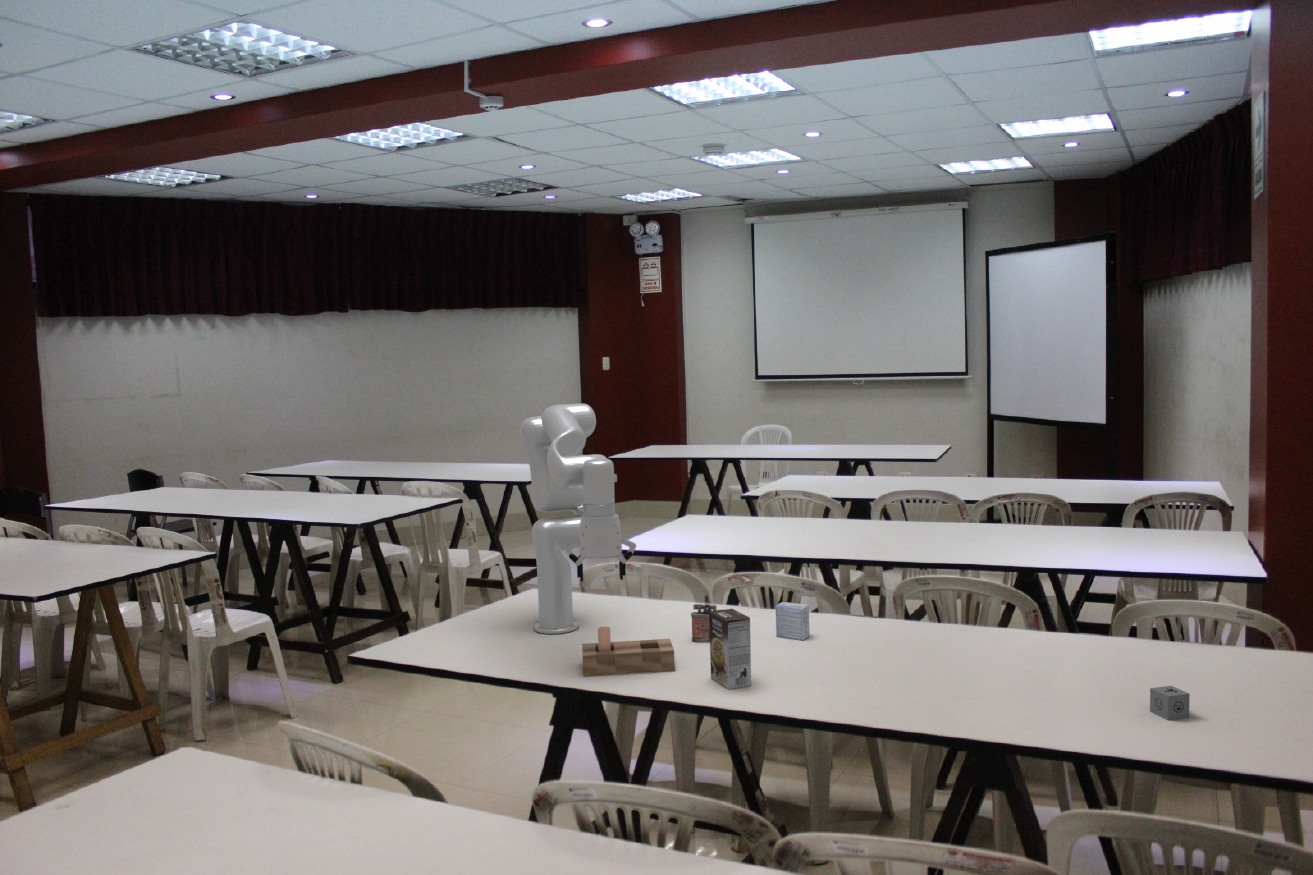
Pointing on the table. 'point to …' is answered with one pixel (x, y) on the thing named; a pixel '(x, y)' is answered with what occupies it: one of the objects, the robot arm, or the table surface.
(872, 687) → the table surface
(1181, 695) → the dice cube
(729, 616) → the coffee box
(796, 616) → the medicine box
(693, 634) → the lighter
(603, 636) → the peg
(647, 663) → the hole block
